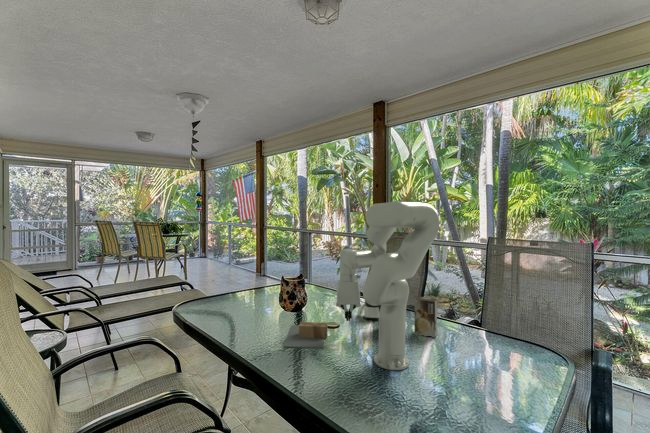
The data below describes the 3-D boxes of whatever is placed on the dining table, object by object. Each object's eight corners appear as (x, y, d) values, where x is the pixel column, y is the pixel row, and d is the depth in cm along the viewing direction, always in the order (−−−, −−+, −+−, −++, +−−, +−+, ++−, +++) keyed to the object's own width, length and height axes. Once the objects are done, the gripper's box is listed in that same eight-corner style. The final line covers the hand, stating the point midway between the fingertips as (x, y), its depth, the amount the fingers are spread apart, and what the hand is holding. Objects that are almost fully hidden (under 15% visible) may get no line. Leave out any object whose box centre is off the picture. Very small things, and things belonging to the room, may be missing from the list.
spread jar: (380, 321, 160) (381, 298, 160) (358, 321, 161) (358, 298, 161) (377, 314, 172) (377, 292, 172) (356, 313, 173) (356, 292, 173)
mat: (323, 348, 128) (323, 347, 128) (283, 347, 128) (283, 346, 128) (325, 327, 152) (325, 326, 152) (292, 326, 152) (292, 325, 152)
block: (326, 326, 137) (299, 325, 137) (326, 338, 137) (298, 337, 138) (327, 322, 142) (300, 321, 142) (327, 333, 142) (300, 333, 143)
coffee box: (437, 333, 145) (437, 298, 145) (435, 338, 140) (435, 301, 139) (416, 330, 149) (417, 295, 149) (413, 334, 144) (414, 299, 144)
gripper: (364, 276, 142) (364, 317, 142) (331, 276, 143) (331, 317, 143) (366, 279, 135) (366, 323, 135) (331, 279, 135) (330, 322, 135)
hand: (348, 319), depth 139 cm, fingers closed
